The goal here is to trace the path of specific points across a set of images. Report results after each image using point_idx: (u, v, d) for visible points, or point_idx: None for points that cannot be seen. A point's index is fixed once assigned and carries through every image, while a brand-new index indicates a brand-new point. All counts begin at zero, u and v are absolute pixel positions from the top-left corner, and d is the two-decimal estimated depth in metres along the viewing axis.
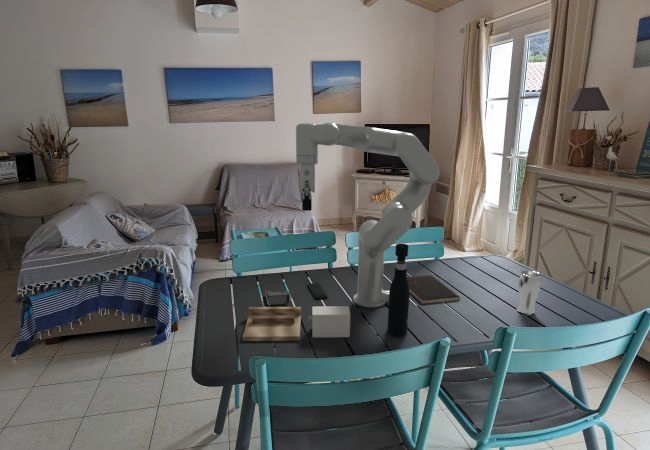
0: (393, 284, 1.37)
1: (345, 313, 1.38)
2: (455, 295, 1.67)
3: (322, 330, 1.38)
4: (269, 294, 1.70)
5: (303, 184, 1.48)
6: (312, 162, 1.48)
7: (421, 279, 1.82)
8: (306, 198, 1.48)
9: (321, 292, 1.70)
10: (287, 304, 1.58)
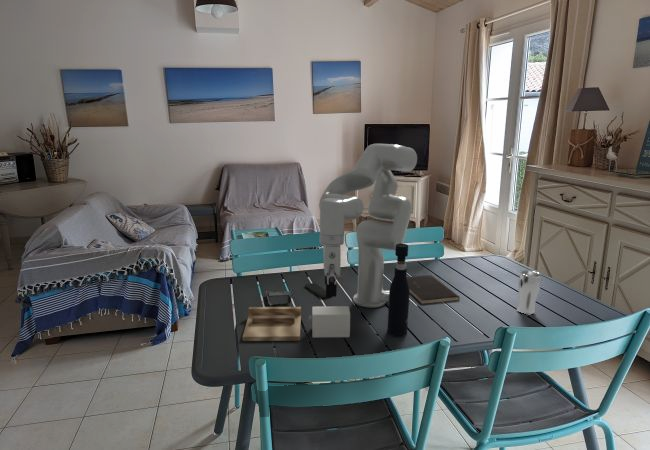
0: (393, 284, 1.37)
1: (345, 313, 1.38)
2: (455, 295, 1.67)
3: (322, 330, 1.38)
4: (270, 294, 1.70)
5: (328, 268, 1.30)
6: (338, 243, 1.30)
7: (421, 279, 1.82)
8: (331, 284, 1.30)
9: (324, 291, 1.71)
10: (289, 304, 1.58)
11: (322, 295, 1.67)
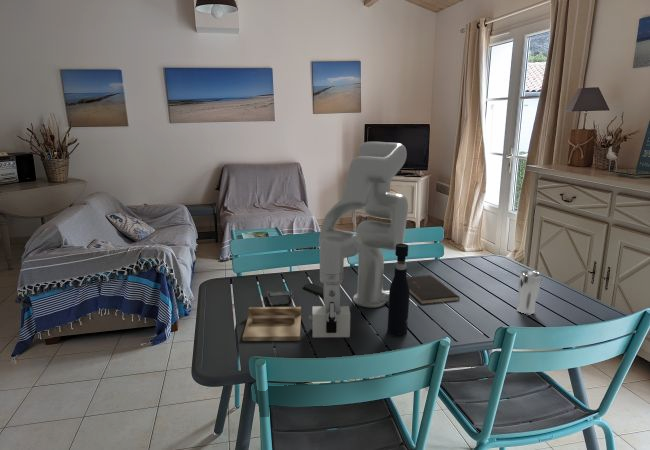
0: (393, 284, 1.37)
1: (346, 313, 1.38)
2: (455, 295, 1.67)
3: (322, 330, 1.38)
4: (270, 294, 1.69)
5: (328, 305, 1.34)
6: (338, 281, 1.34)
7: (421, 279, 1.82)
8: (331, 321, 1.35)
9: None
10: (290, 304, 1.58)
11: None
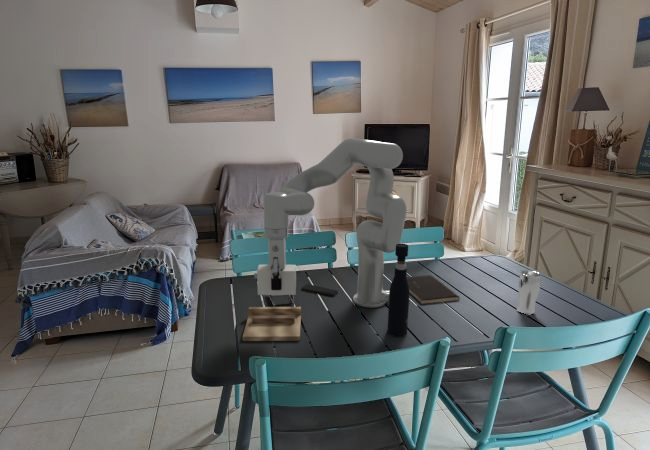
0: (393, 284, 1.37)
1: (291, 270, 1.36)
2: (455, 295, 1.67)
3: (267, 287, 1.36)
4: None
5: (271, 261, 1.32)
6: (282, 236, 1.32)
7: (421, 279, 1.82)
8: (275, 278, 1.33)
9: (328, 289, 1.73)
10: (292, 304, 1.59)
11: (331, 293, 1.70)
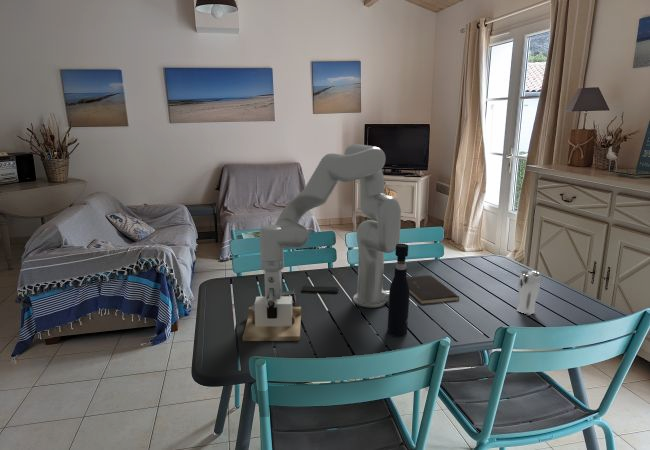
0: (393, 284, 1.37)
1: (287, 302, 1.41)
2: (455, 295, 1.67)
3: (264, 319, 1.41)
4: None
5: (267, 292, 1.37)
6: (277, 268, 1.37)
7: (421, 279, 1.82)
8: (271, 307, 1.37)
9: (329, 287, 1.75)
10: (295, 303, 1.59)
11: (335, 290, 1.72)
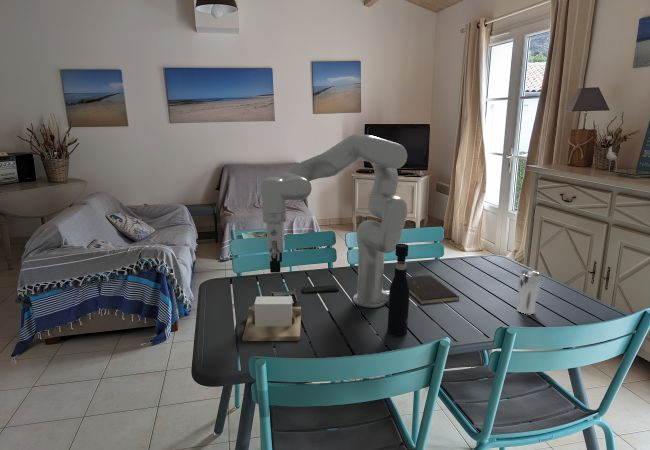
0: (393, 284, 1.37)
1: (287, 302, 1.41)
2: (455, 295, 1.67)
3: (264, 319, 1.41)
4: (273, 295, 1.69)
5: (270, 245, 1.35)
6: (280, 220, 1.34)
7: (421, 279, 1.82)
8: (274, 260, 1.34)
9: (328, 286, 1.76)
10: (296, 303, 1.59)
11: (335, 288, 1.74)
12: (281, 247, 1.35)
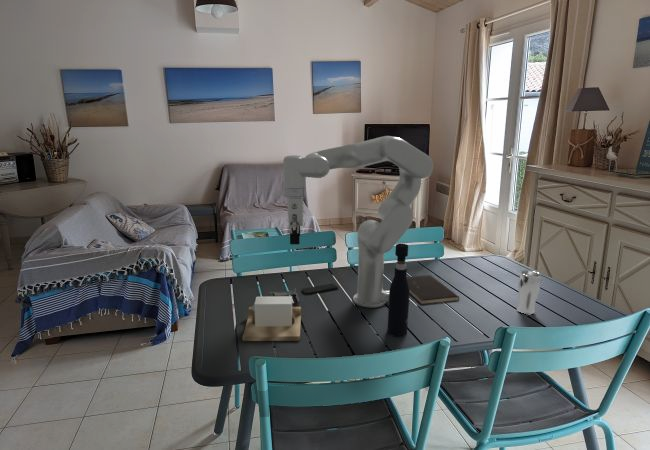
0: (393, 284, 1.37)
1: (287, 302, 1.41)
2: (455, 295, 1.67)
3: (264, 319, 1.41)
4: (274, 295, 1.69)
5: (291, 218, 1.45)
6: (300, 195, 1.45)
7: (420, 279, 1.82)
8: (294, 232, 1.45)
9: (327, 285, 1.77)
10: (298, 303, 1.59)
11: (335, 286, 1.76)
12: (301, 220, 1.45)
